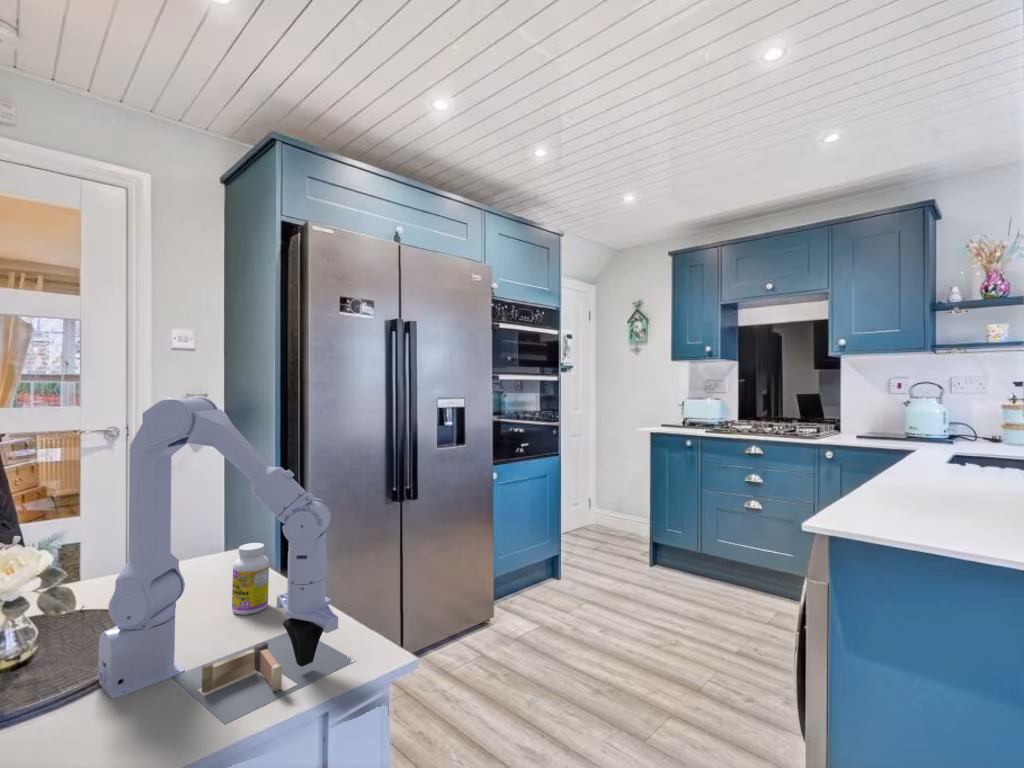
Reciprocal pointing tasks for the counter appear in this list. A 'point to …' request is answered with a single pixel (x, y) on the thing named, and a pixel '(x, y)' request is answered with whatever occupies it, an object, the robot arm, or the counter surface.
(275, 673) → the pink slab
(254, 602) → the supplement bottle
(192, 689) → the board
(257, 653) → the base
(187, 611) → the counter surface
